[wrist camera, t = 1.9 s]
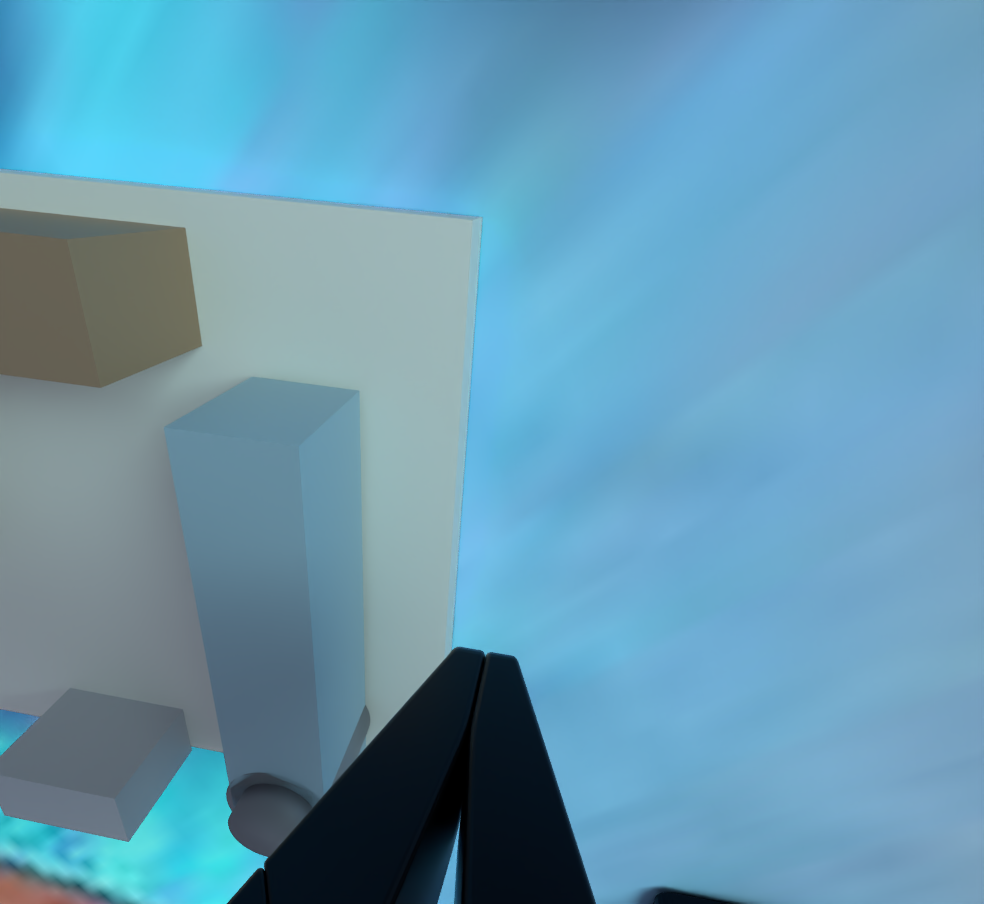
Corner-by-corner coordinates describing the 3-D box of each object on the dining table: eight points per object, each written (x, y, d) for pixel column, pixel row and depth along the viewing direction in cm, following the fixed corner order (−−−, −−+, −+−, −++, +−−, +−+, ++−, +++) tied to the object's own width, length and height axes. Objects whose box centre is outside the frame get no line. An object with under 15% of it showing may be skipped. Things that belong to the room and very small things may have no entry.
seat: (443, 764, 19) (410, 901, 16) (-2, 679, 21) (-129, 786, 17) (482, 217, 12) (437, 230, 8) (-220, 146, 13) (-533, 130, 10)
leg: (370, 753, 18) (323, 879, 14) (285, 737, 18) (220, 857, 15) (365, 391, 12) (291, 463, 9) (246, 375, 13) (131, 440, 9)
